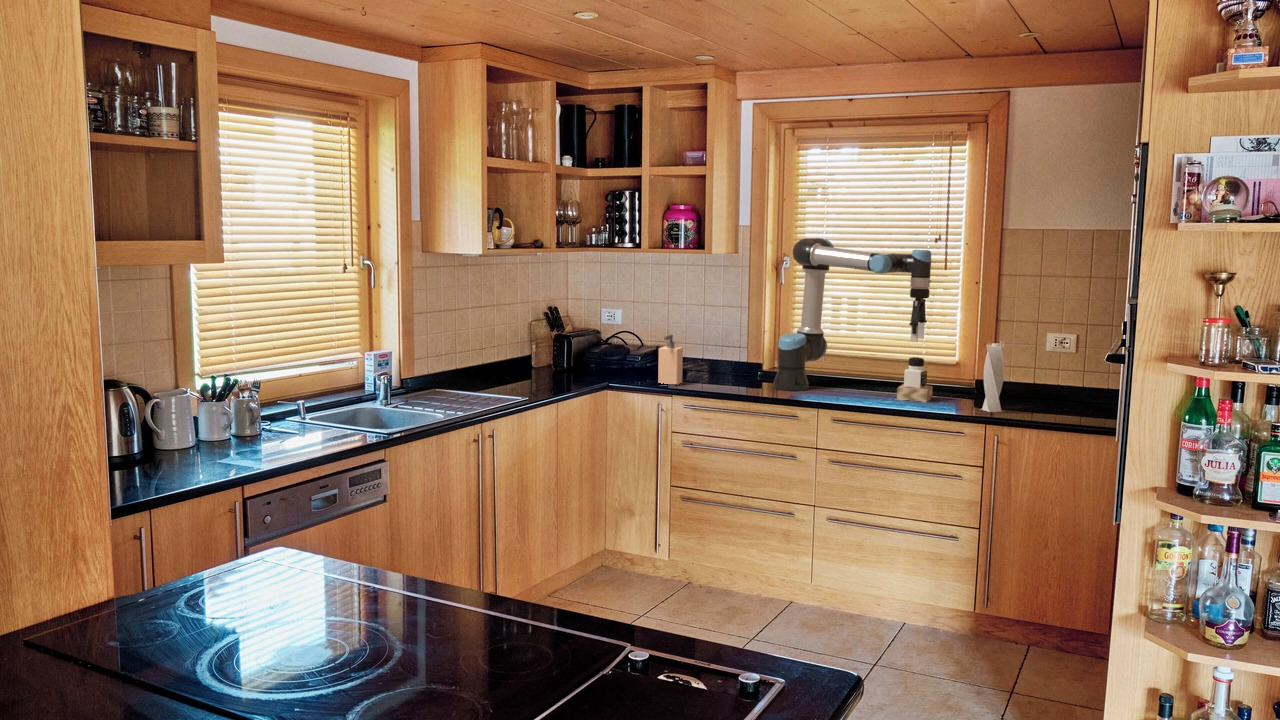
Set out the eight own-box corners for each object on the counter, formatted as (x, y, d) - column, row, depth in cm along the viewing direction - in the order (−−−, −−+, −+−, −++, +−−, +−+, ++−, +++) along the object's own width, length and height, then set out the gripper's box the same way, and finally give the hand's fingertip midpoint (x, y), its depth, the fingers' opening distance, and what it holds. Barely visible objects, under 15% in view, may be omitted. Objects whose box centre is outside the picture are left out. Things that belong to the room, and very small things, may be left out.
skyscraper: (1007, 413, 383) (1012, 340, 379) (988, 414, 381) (993, 340, 377) (995, 409, 391) (1000, 338, 387) (976, 410, 389) (981, 338, 386)
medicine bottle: (920, 388, 407) (921, 359, 405) (903, 386, 411) (904, 357, 409) (926, 386, 413) (928, 357, 411) (909, 384, 417) (911, 356, 415)
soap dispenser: (663, 382, 449) (664, 333, 446) (682, 383, 446) (683, 334, 443) (655, 386, 437) (655, 336, 434) (673, 387, 434) (674, 337, 431)
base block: (896, 400, 410) (897, 387, 409) (902, 395, 420) (903, 383, 420) (926, 402, 404) (927, 390, 404) (931, 398, 415) (932, 385, 414)
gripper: (923, 290, 393) (921, 343, 396) (934, 286, 416) (931, 337, 419) (904, 289, 397) (901, 342, 400) (916, 286, 419) (913, 336, 422)
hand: (917, 340), depth 409 cm, fingers open, 13 cm apart
